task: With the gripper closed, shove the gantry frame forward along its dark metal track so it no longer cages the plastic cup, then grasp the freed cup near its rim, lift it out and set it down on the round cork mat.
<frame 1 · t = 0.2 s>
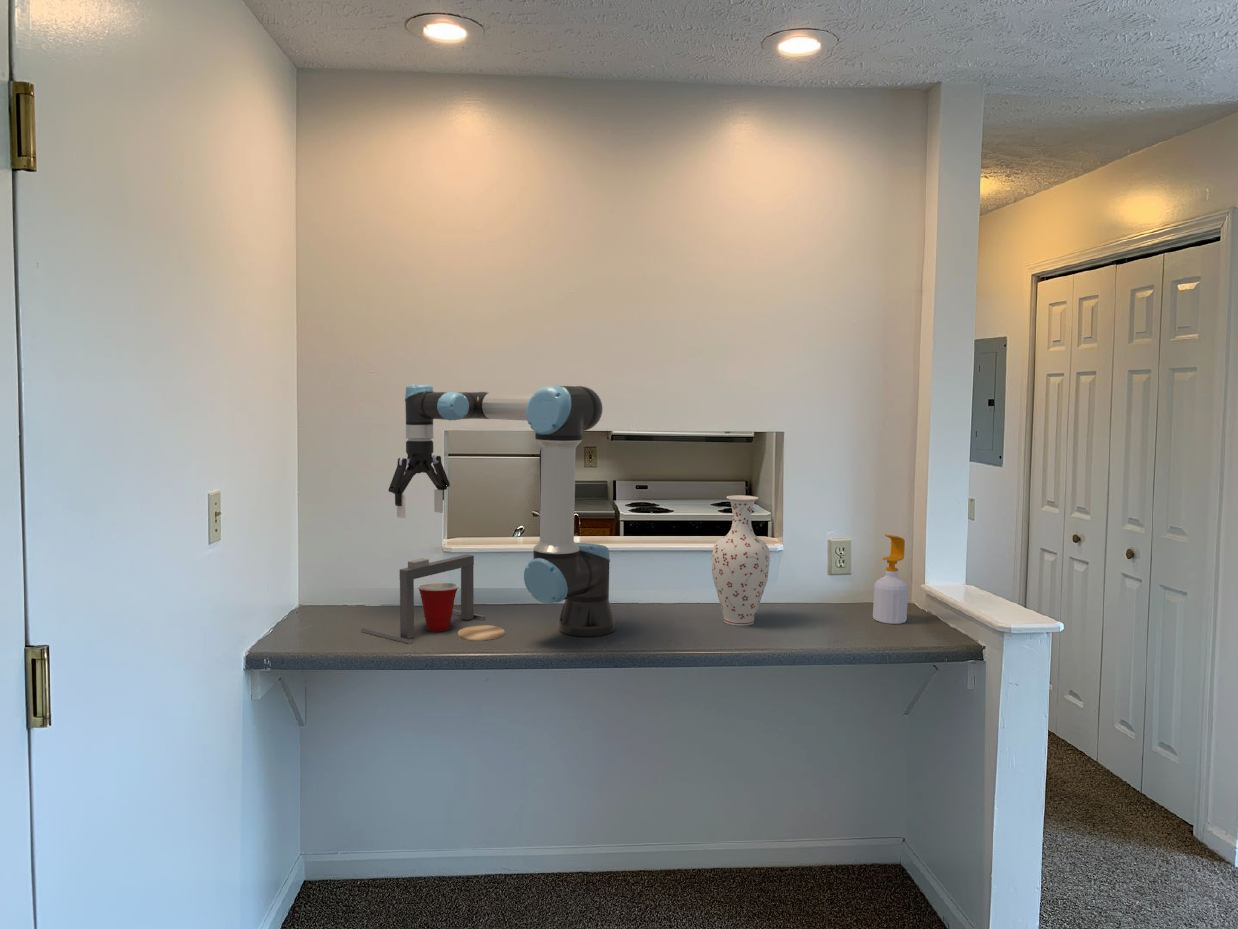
hand: (420, 515, 242), 28 cm above the worktop, fingers open, 13 cm apart
cork mat: (481, 633, 224), on the worktop
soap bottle: (889, 620, 243), on the worktop
track: (425, 625, 231), on the worktop
vase: (738, 622, 239), on the worktop
plastic cup: (438, 629, 228), on the worktop
gantry frame: (438, 592, 227), point 10 cm above the worktop, slide at 0.0 cm
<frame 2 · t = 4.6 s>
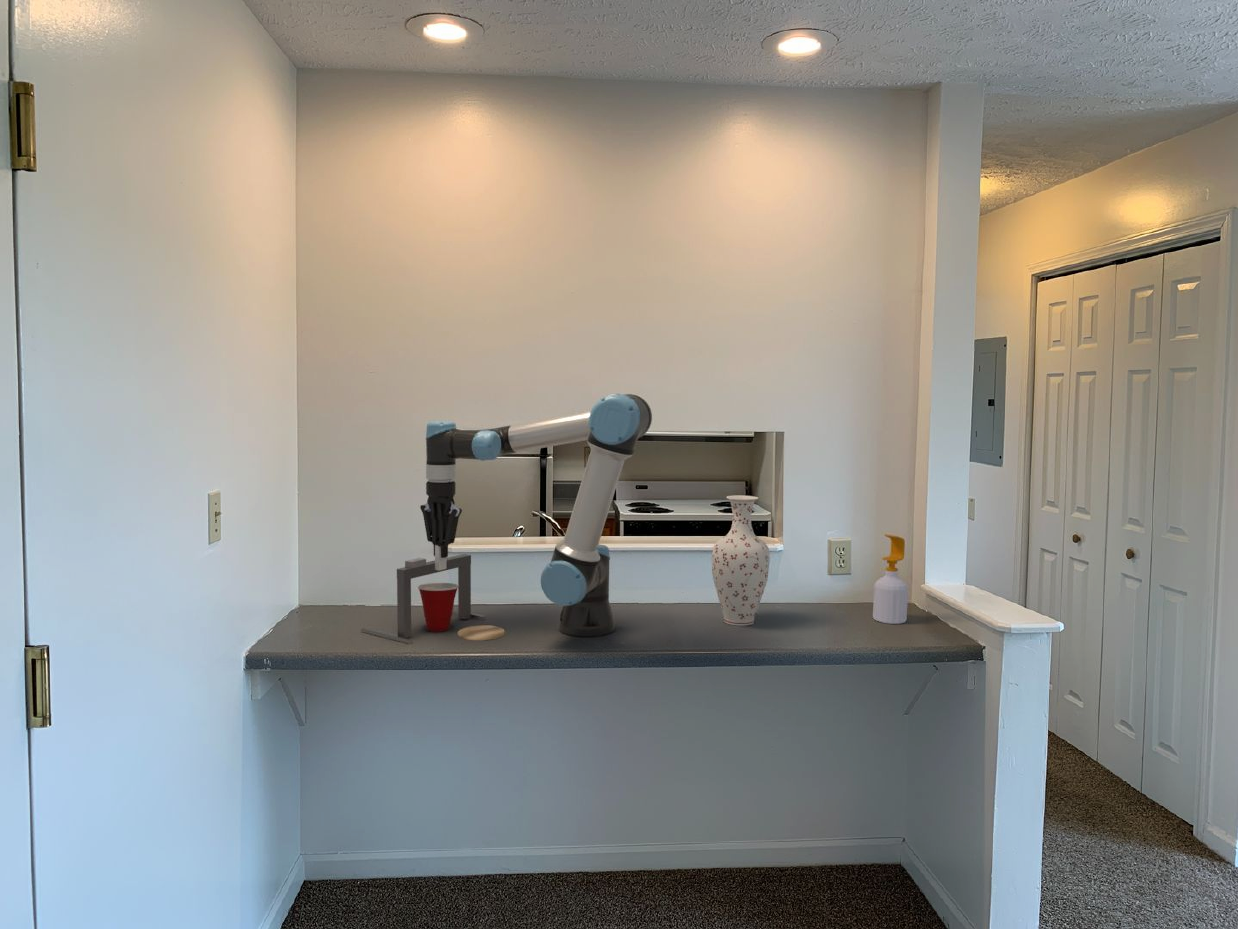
hand: (440, 569, 226), 16 cm above the worktop, fingers closed
gantry frame: (435, 591, 228), point 10 cm above the worktop, slide at 1.0 cm, touching gripper
everything else where it was.
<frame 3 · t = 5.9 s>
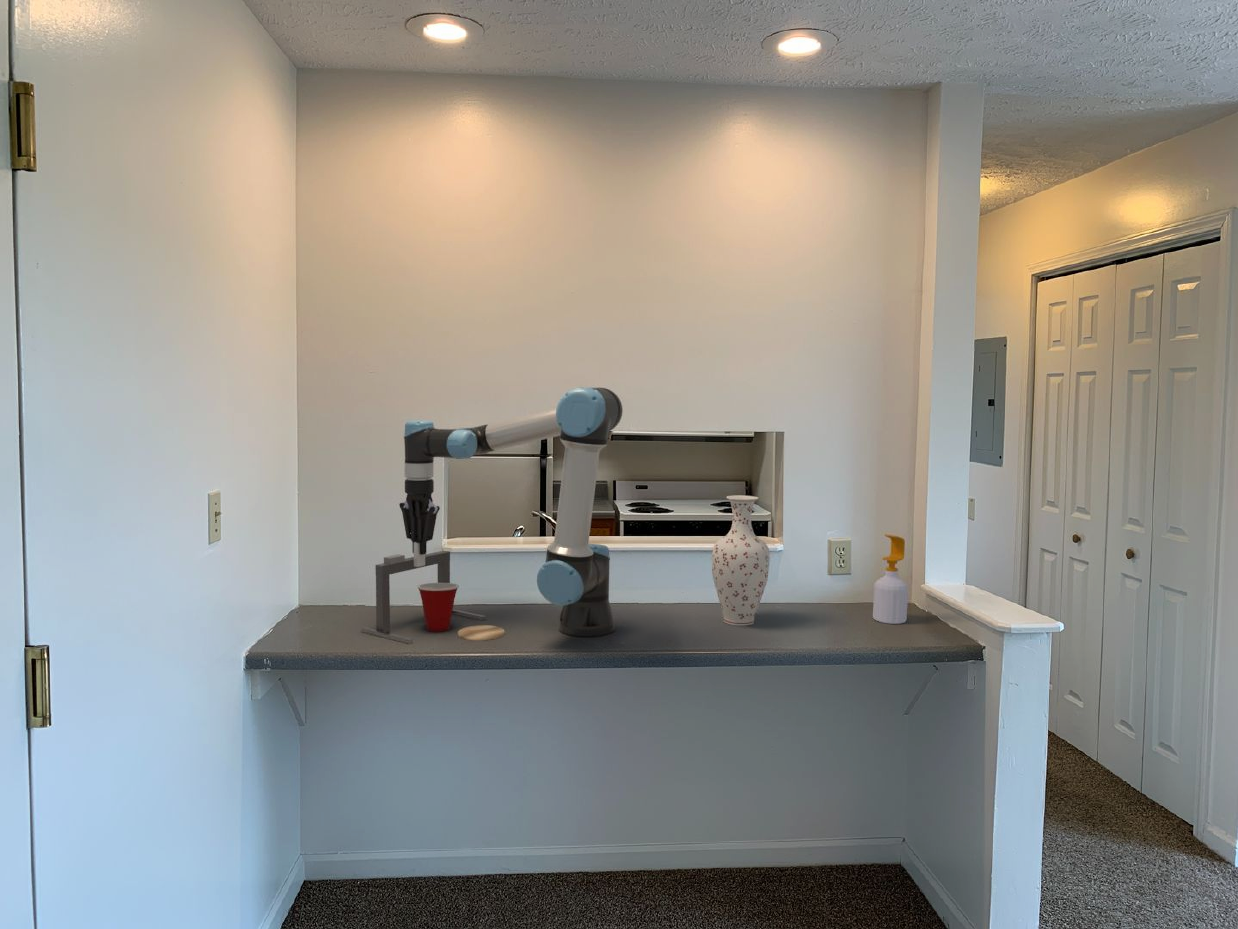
hand: (419, 565, 230), 16 cm above the worktop, fingers closed
gantry frame: (414, 587, 232), point 10 cm above the worktop, slide at 9.0 cm, touching gripper
everything else where it was.
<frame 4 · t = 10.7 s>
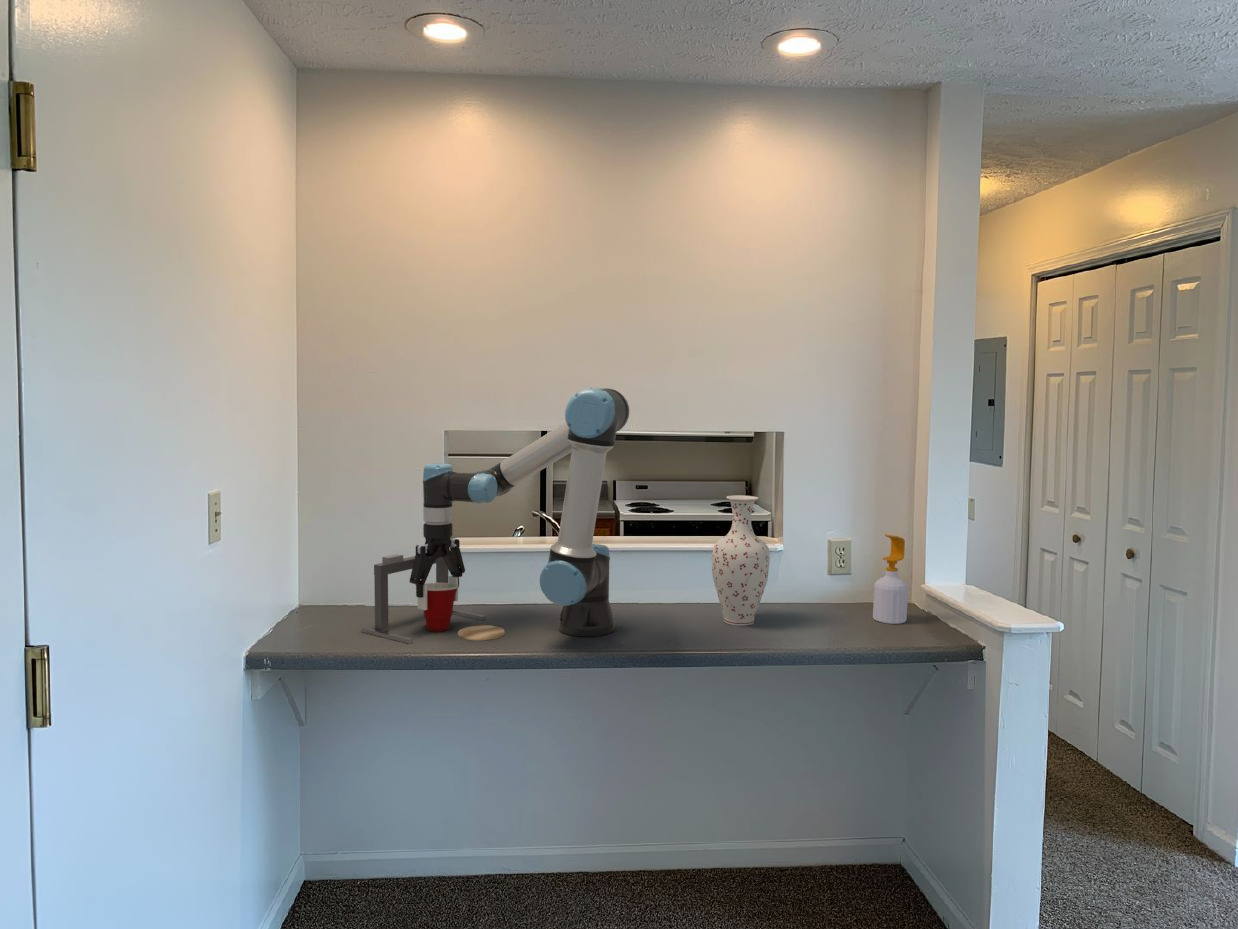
hand: (438, 604, 228), 6 cm above the worktop, fingers closed on plastic cup, 11 cm apart
plastic cup: (438, 629, 228), on the worktop, touching gripper
gantry frame: (413, 586, 232), point 10 cm above the worktop, slide at 9.5 cm
everything else where it was.
when the fingers open (9 cm above the worktop, at t = 16.5 s): plastic cup drops 2 cm, resting on cork mat.
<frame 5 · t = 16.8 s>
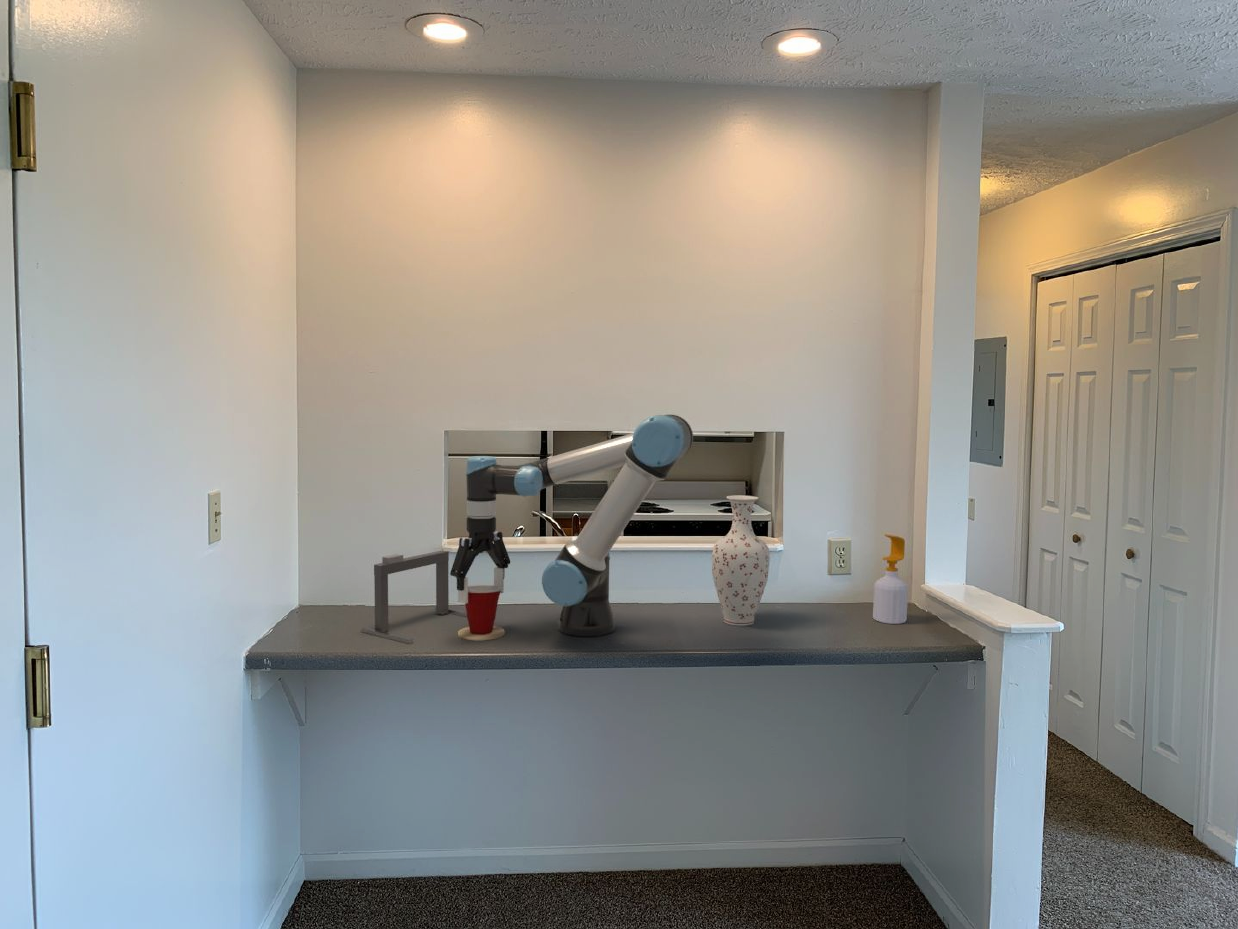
hand: (481, 597, 223), 10 cm above the worktop, fingers open, 13 cm apart
plastic cup: (481, 632, 224), resting on cork mat
everything else where it was.
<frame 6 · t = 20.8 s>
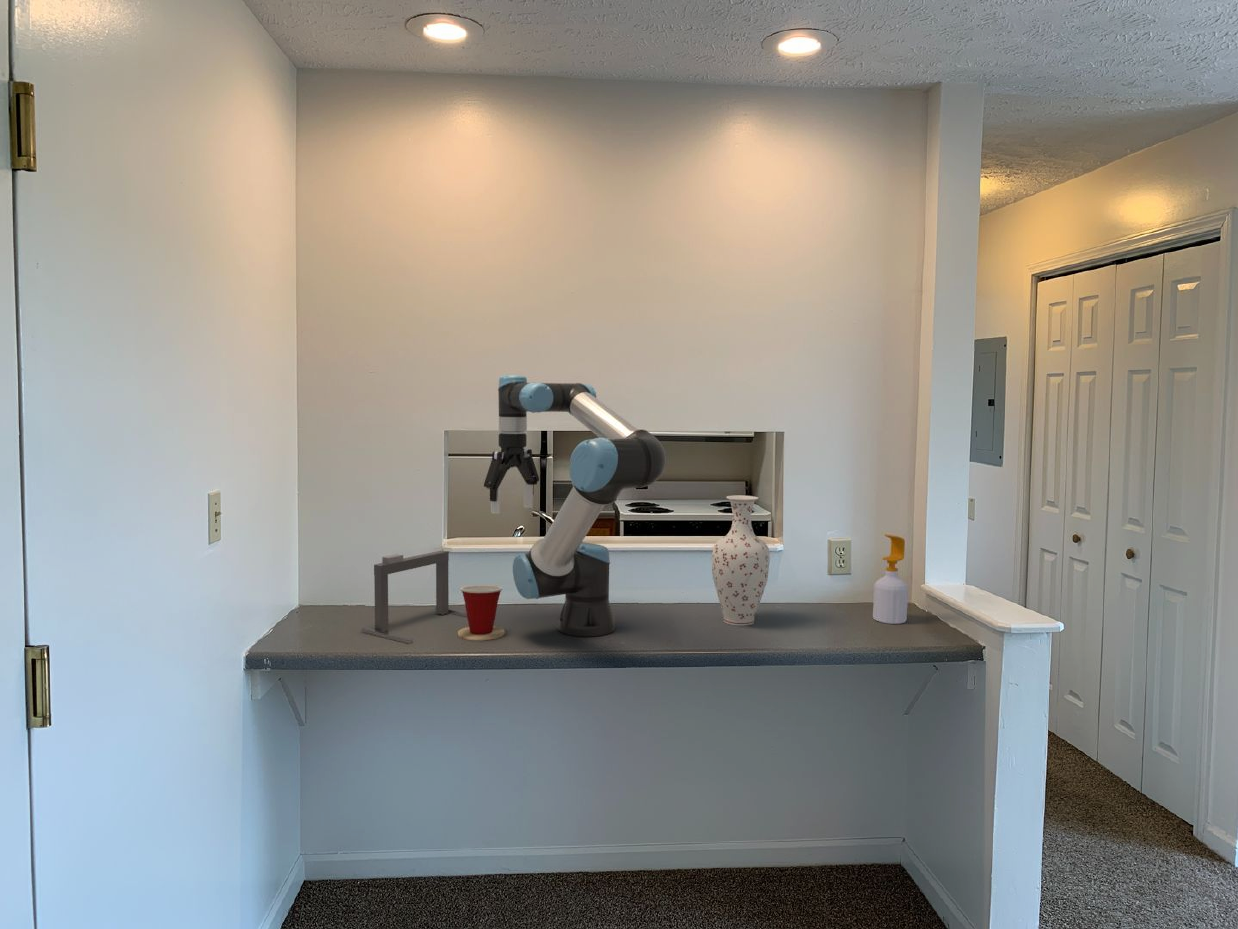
hand: (512, 510, 233), 31 cm above the worktop, fingers open, 13 cm apart
nothing on the worktop moved.
at the end: gantry frame slide at 9.5 cm; plastic cup 0.1 cm from the cork mat (horizontally); plastic cup tilted 0° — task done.
